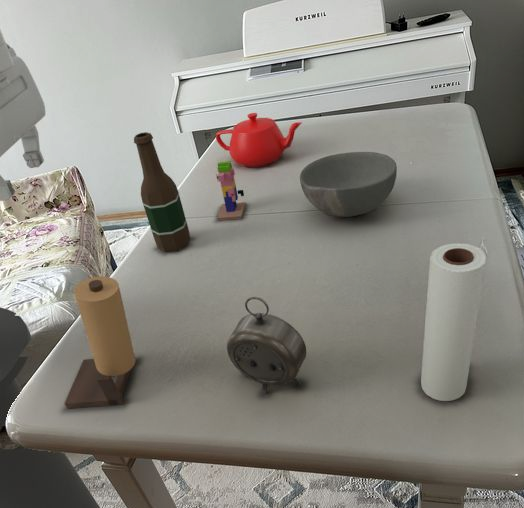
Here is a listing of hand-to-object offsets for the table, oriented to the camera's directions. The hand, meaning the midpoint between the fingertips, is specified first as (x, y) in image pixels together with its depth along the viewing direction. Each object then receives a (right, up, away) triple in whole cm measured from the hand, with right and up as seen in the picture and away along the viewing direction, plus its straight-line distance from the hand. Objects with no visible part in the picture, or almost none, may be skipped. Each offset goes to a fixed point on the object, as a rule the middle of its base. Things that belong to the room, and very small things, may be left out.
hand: (22, 180), depth 64 cm
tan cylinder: (+10, -18, +11) cm, 24 cm away
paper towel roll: (+56, -26, +8) cm, 62 cm away
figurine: (+23, +11, +58) cm, 63 cm away
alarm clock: (+31, -26, +14) cm, 43 cm away
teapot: (+30, +32, +80) cm, 91 cm away
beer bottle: (+10, +2, +51) cm, 52 cm away
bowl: (+49, +10, +50) cm, 71 cm away
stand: (+4, -27, +19) cm, 33 cm away
